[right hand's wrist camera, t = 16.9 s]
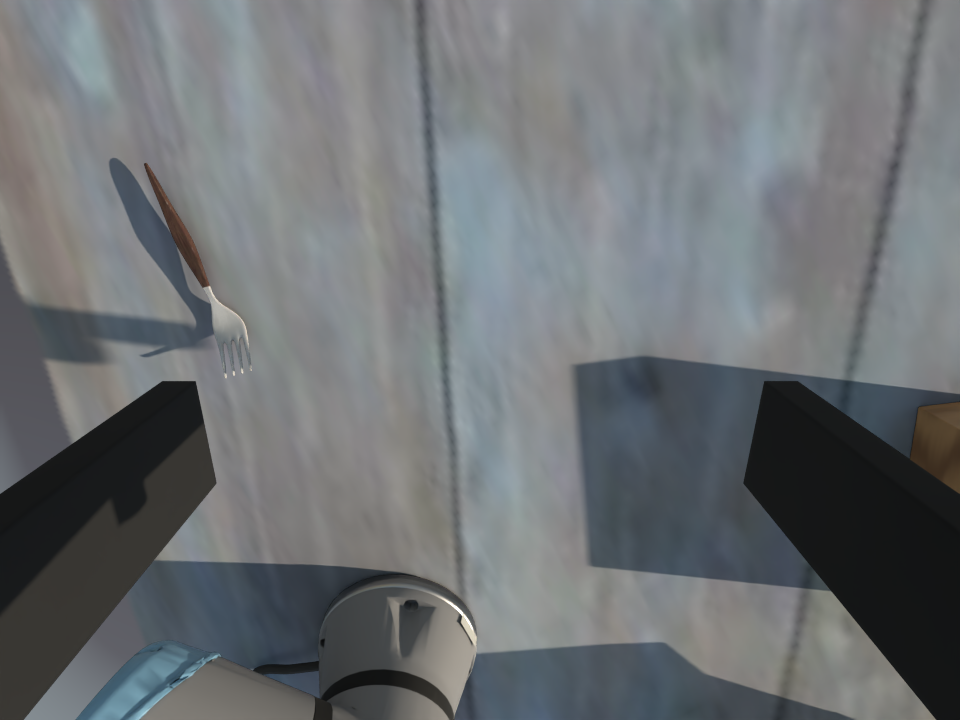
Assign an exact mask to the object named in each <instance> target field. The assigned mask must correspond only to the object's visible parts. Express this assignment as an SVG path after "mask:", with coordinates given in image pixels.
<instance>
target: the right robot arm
mask: <svg viewBox="0 0 960 720" xmlns="http://www.w3.org/2000/svg"><path fill="white" fill-rule="evenodd" d="M215 485H216V478H215V473H214V468H213V463H212V459H211V454H210V449H209V444H208V439H207V434H206V429H205V425H204V420H203V415H202V410H201V405H200V400H199V395H198V390H197V386H196V381H162V382H161V383H159V384H158V385H156V386H155V387H153V388H152V389H151V390H149V391H148V392H146V393H145V394H143V395H142V396H141V397H139V398H138V399H136V400H135V401H133V402H132V403H130V404H129V405H128V406H126V407H125V408H123V409H122V410H120V411H119V412H118V413H116V414H115V415H113V416H112V417H110V418H109V419H107V420H106V421H105V422H103V423H102V424H100V425H99V426H97V427H96V428H94V429H93V430H92V431H90V432H89V433H87V434H86V435H84V436H83V437H82V438H80V439H79V440H77V441H76V442H74V443H73V444H71V445H70V446H69V447H67V448H66V449H64V450H63V451H61V452H60V453H59V454H57V455H56V456H54V457H53V458H51V459H50V460H48V461H47V462H46V463H44V464H43V465H41V466H40V467H38V468H37V469H36V470H34V471H33V472H31V473H30V474H28V475H27V476H26V477H24V478H23V479H21V480H20V481H18V482H17V483H15V484H14V485H13V486H11V487H10V488H8V489H7V490H5V491H4V492H3V493H1V494H0V720H24V719H25V717H26V716H27V715H28V714H29V713H30V711H31V710H32V709H33V708H34V706H35V705H36V704H37V703H38V701H39V700H40V699H41V698H42V697H43V695H44V694H45V693H46V692H47V690H48V689H49V688H50V687H51V686H52V684H53V683H54V682H55V681H56V679H57V678H58V677H59V676H60V675H61V673H62V672H63V671H64V670H65V668H66V667H67V666H68V665H69V663H70V662H71V661H72V660H73V659H74V657H75V656H76V655H77V654H78V652H79V651H80V650H81V649H82V648H83V646H84V645H85V644H86V643H87V641H88V640H89V639H90V638H91V637H92V635H93V634H94V633H95V632H96V630H97V629H98V628H99V627H100V625H101V624H102V623H103V622H104V621H105V619H106V618H107V617H108V616H109V614H110V613H111V612H112V611H113V610H114V608H115V607H116V606H117V605H118V603H119V602H120V601H121V600H122V599H123V597H124V596H125V595H126V594H127V592H128V591H129V590H130V589H131V588H132V586H133V585H134V584H135V583H136V581H137V580H138V579H139V578H140V576H141V575H142V574H143V573H144V572H145V570H146V569H147V568H148V567H149V565H150V564H151V563H152V562H153V561H154V559H155V558H156V557H157V556H158V554H159V553H160V552H161V551H162V550H163V548H164V547H165V546H166V545H167V543H168V542H169V541H170V540H171V538H172V537H173V536H174V535H175V534H176V532H177V531H178V530H179V529H180V527H181V526H182V525H183V524H184V523H185V521H186V520H187V519H188V518H189V516H190V515H191V514H192V513H193V512H194V510H195V509H196V508H197V507H198V505H199V504H200V503H201V502H202V501H203V499H204V498H205V497H206V496H207V494H208V493H209V492H210V491H211V489H212V488H213V487H214V486H215ZM744 485H745V486H746V487H747V488H748V489H749V491H750V492H751V493H752V494H753V496H754V497H755V498H756V499H757V501H758V502H759V503H760V504H761V505H762V507H763V508H764V509H765V510H766V512H767V513H768V514H769V515H770V516H771V518H772V519H773V520H774V521H775V523H776V524H777V525H778V526H779V527H780V529H781V530H782V531H783V532H784V534H785V535H786V536H787V537H788V538H789V540H790V541H791V542H792V543H793V545H794V546H795V547H796V548H797V550H798V551H799V552H800V553H801V554H802V556H803V557H804V558H805V559H806V561H807V562H808V563H809V564H810V565H811V567H812V568H813V569H814V570H815V572H816V573H817V574H818V575H819V576H820V578H821V579H822V580H823V581H824V583H825V584H826V585H827V586H828V588H829V589H830V590H831V591H832V592H833V594H834V595H835V596H836V597H837V599H838V600H839V601H840V602H841V603H842V605H843V606H844V607H845V608H846V610H847V611H848V612H849V613H850V614H851V616H852V617H853V618H854V619H855V621H856V622H857V623H858V624H859V626H860V627H861V628H862V629H863V630H864V632H865V633H866V634H867V635H868V637H869V638H870V639H871V640H872V641H873V643H874V644H875V645H876V646H877V648H878V649H879V650H880V651H881V652H882V654H883V655H884V656H885V657H886V659H887V660H888V661H889V662H890V664H891V665H892V666H893V667H894V668H895V670H896V671H897V672H898V673H899V675H900V676H901V677H902V678H903V679H904V681H905V682H906V683H907V684H908V686H909V687H910V688H911V689H912V690H913V692H914V693H915V694H916V695H917V697H918V698H919V699H920V700H921V701H922V703H923V704H924V705H925V706H926V708H927V709H928V710H929V711H930V713H931V714H932V715H933V716H934V717H935V719H936V720H960V494H959V493H958V492H956V491H955V490H953V489H952V488H950V487H949V486H947V485H946V484H945V483H943V482H942V481H940V480H939V479H937V478H936V477H935V476H933V475H932V474H930V473H929V472H927V471H926V470H924V469H923V468H922V467H920V466H919V465H917V464H916V463H914V462H913V461H912V460H910V459H909V458H907V457H906V456H904V455H903V454H901V453H900V452H899V451H897V450H896V449H894V448H893V447H891V446H890V445H889V444H887V443H886V442H884V441H883V440H881V439H880V438H878V437H877V436H876V435H874V434H873V433H871V432H870V431H868V430H867V429H866V428H864V427H863V426H861V425H860V424H858V423H857V422H855V421H854V420H853V419H851V418H850V417H848V416H847V415H845V414H844V413H842V412H841V411H840V410H838V409H837V408H835V407H834V406H832V405H831V404H830V403H828V402H827V401H825V400H824V399H822V398H821V397H819V396H818V395H817V394H815V393H814V392H812V391H811V390H809V389H808V388H807V387H805V386H804V385H802V384H801V383H799V382H798V381H764V386H763V390H762V395H761V400H760V405H759V410H758V415H757V420H756V425H755V429H754V434H753V439H752V444H751V449H750V454H749V459H748V463H747V468H746V473H745V478H744ZM476 640H477V636H476V626H475V622H474V620H473V617H472V615H471V613H470V611H469V610H468V608H467V607H466V605H465V604H464V603H463V602H462V601H461V600H460V599H459V598H458V597H457V596H456V595H455V594H453V593H452V592H451V591H449V590H448V589H446V588H445V587H443V586H441V585H439V584H437V583H435V582H432V581H429V580H426V579H423V578H419V577H415V576H409V575H383V576H377V577H372V578H369V579H366V580H363V581H360V582H358V583H356V584H354V585H352V586H350V587H348V588H347V589H345V590H344V591H343V592H342V593H340V594H339V595H338V596H337V597H336V598H335V599H334V601H333V602H332V603H331V605H330V606H329V608H328V610H327V612H326V615H325V618H324V621H323V623H322V626H321V630H320V633H319V643H318V655H319V661H316V662H308V663H300V664H291V665H279V664H268V665H262V666H259V667H257V668H255V669H254V670H253V671H252V670H250V669H247V668H245V667H243V666H240V665H238V664H236V663H234V662H231V661H229V660H227V659H224V658H222V657H221V654H219V653H217V652H212V653H209V652H206V651H203V650H200V649H197V648H194V647H191V646H187V645H185V644H182V643H179V642H176V641H171V640H165V641H159V642H155V643H153V644H150V645H148V646H147V647H145V648H143V649H142V650H140V651H139V652H138V653H137V654H135V655H134V656H133V657H132V658H131V659H130V660H129V661H128V662H127V663H126V664H125V665H124V666H123V667H122V668H121V669H120V670H119V671H118V672H117V673H116V674H115V675H114V676H113V677H112V678H111V679H110V680H109V682H108V683H107V684H106V685H105V686H104V687H103V688H102V689H101V690H100V692H99V693H98V694H97V695H96V696H95V697H94V698H93V700H92V701H91V702H90V703H89V704H88V705H87V707H86V708H85V709H84V710H83V711H82V712H81V714H80V715H79V716H78V717H77V718H76V720H454V717H455V713H456V710H457V707H458V704H459V701H460V698H461V695H462V692H463V689H464V686H465V683H466V681H467V680H468V678H469V676H470V673H471V671H472V668H473V665H474V661H475V657H476ZM312 671H319V686H320V699H319V698H317V697H314V696H313V695H311V694H308V693H306V692H303V691H301V690H298V689H296V688H293V687H291V686H289V685H286V684H284V683H281V682H279V681H276V680H274V679H271V678H269V677H267V676H264V674H295V673H304V672H312Z"/></svg>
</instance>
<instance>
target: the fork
mask: <svg viewBox="0 0 960 720" xmlns="http://www.w3.org/2000/svg"><path fill="white" fill-rule="evenodd" d="M144 166H145V169H146V172H147V174H148V177H149V180H150V182H151V185H152V187H153V190H154V192H155V194H156V197H157V199H158V202H159V204H160V206H161V209H162V211H163V214H164V217H165V219H166V222H167V224H168V227H169V229H170V232H171V234H172V237H173V239H174V241H175V243H176V245H177V247H178V249H179V251H180V252H181V254H182V256H183V257H184V259H185V261H186V262H187V264H188V265H189V267H190V268H191V270H192V272H193V273H194V275H195V276H196V278H197V279H198V281H199V283H200V284H201V286H202V287H203V289H204V291H205V292H206V294H207V296H208V298H209V300H210V303H211V310H212V326H213V331H214V335H215V338H216V341H217V344H218V347H219V351H220V356H221V360H222V365H223V371H224V378H226V366H225V356H224V348H223V344H224V343H226V345H227V348H228V352H229V357H230V362H231V367H232V372H233V376H235V372H234V361H233V352H232V340H234V342H235V345H236V349H237V353H238V358H239V363H240V368H241V373H243V366H242V356H241V348H240V338H242V339H243V341H244V345H245V349H246V354H247V358H248V363H249V370H250V371H251V360H250V351H249V343H248V337H247V331H246V327H245V324H244V322H243V320H242V319H241V318H240V317H239V316H238V315H237V314H236V313H235V312H233V311H232V310H230V309H229V308H227V307H226V306H224V305H223V304H221V303H220V302H219V301H218V300H217V299H216V298H215V296H214V295H213V293H212V290H211V288H210V285H209V282H208V279H207V277H206V274H205V271H204V268H203V265H202V262H201V260H200V257H199V254H198V252H197V249H196V247H195V244H194V242H193V240H192V238H191V236H190V234H189V233H188V231H187V229H186V228H185V226H184V224H183V223H182V221H181V219H180V218H179V216H178V215H177V213H176V211H175V210H174V208H173V206H172V205H171V203H170V201H169V199H168V198H167V196H166V194H165V192H164V191H163V189H162V187H161V185H160V184H159V182H158V180H157V179H156V177H155V175H154V174H153V172H152V170H151V169H150V167H149V166H148V164H147V163H145V164H144Z"/></svg>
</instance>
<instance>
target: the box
mask: <svg viewBox="0 0 960 720" xmlns="http://www.w3.org/2000/svg"><path fill="white" fill-rule="evenodd" d="M910 460H912V461H913V462H914V463H916V464H917V465H919V466H920V467H922V468H923V469H924V470H926V471H927V472H929V473H930V474H932V475H933V476H935V477H936V478H937V479H939V480H940V481H942V482H943V483H945V484H946V485H947V486H949V487H950V488H952V489H953V490H955V491H956V492H958V493H959V494H960V402H955V403H946V404H938V405H930V406H922V407H919V408H918V414H917V420H916V426H915V431H914V437H913V443H912V449H911V455H910Z"/></svg>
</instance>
